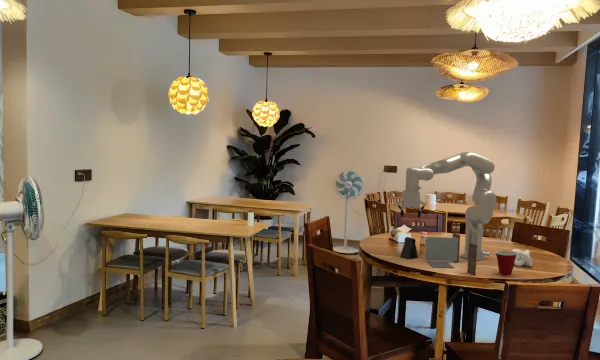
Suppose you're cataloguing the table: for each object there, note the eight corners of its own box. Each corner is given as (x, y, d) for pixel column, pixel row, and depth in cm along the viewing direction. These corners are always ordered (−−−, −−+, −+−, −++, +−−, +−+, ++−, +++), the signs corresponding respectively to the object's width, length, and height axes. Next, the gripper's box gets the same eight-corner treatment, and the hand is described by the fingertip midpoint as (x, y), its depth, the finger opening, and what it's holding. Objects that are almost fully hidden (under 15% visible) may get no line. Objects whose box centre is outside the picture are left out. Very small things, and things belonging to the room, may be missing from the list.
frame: (454, 259, 263) (455, 232, 262) (475, 275, 228) (477, 244, 227) (450, 259, 263) (452, 232, 262) (471, 275, 228) (473, 244, 227)
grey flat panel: (457, 261, 254) (458, 238, 253) (425, 260, 254) (426, 236, 253) (455, 260, 256) (457, 237, 255) (424, 259, 256) (425, 236, 255)
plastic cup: (493, 270, 240) (494, 248, 239) (515, 273, 236) (516, 250, 235) (494, 275, 230) (495, 252, 229) (517, 278, 226) (518, 255, 225)
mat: (447, 263, 253) (447, 262, 253) (454, 268, 241) (454, 267, 241) (426, 262, 253) (426, 261, 253) (432, 267, 241) (432, 266, 241)
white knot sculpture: (512, 261, 262) (513, 246, 262) (535, 265, 255) (536, 250, 254) (507, 265, 254) (508, 249, 253) (530, 269, 246) (531, 253, 245)
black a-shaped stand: (407, 259, 258) (408, 239, 257) (400, 257, 263) (401, 237, 262) (418, 258, 263) (419, 238, 262) (411, 256, 268) (412, 236, 267)
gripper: (425, 188, 264) (423, 216, 265) (396, 187, 265) (394, 215, 266) (428, 189, 257) (426, 218, 258) (398, 188, 257) (396, 217, 258)
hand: (410, 217), depth 262 cm, fingers open, 9 cm apart
